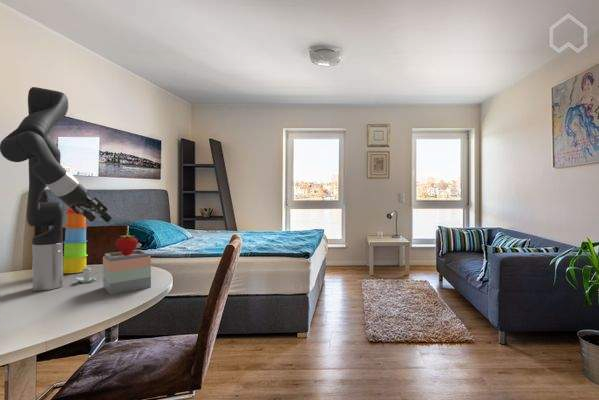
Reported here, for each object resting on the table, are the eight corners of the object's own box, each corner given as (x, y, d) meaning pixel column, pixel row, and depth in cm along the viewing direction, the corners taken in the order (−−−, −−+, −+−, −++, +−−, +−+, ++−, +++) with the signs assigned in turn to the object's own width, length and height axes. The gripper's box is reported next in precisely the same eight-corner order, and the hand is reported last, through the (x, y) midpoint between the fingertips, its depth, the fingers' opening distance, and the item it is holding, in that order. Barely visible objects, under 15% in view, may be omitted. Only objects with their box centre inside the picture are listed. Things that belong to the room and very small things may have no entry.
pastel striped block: (109, 294, 113) (109, 258, 113) (103, 287, 122) (102, 253, 122) (150, 287, 123) (150, 253, 122) (142, 280, 132) (141, 249, 131)
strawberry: (115, 255, 123) (115, 230, 123) (136, 254, 127) (137, 229, 126) (115, 258, 118) (116, 232, 118) (137, 257, 122) (138, 231, 121)
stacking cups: (60, 271, 148) (59, 197, 147) (86, 267, 155) (85, 197, 154) (62, 275, 140) (61, 198, 140) (90, 271, 147) (89, 198, 146)
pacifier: (77, 281, 132) (75, 284, 126) (77, 266, 132) (75, 269, 126) (98, 279, 135) (96, 282, 130) (98, 264, 135) (96, 267, 130)
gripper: (89, 179, 102) (121, 212, 112) (61, 180, 107) (95, 212, 118) (72, 195, 97) (107, 229, 108) (44, 195, 102) (81, 227, 113)
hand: (101, 220), depth 113 cm, fingers open, 8 cm apart
